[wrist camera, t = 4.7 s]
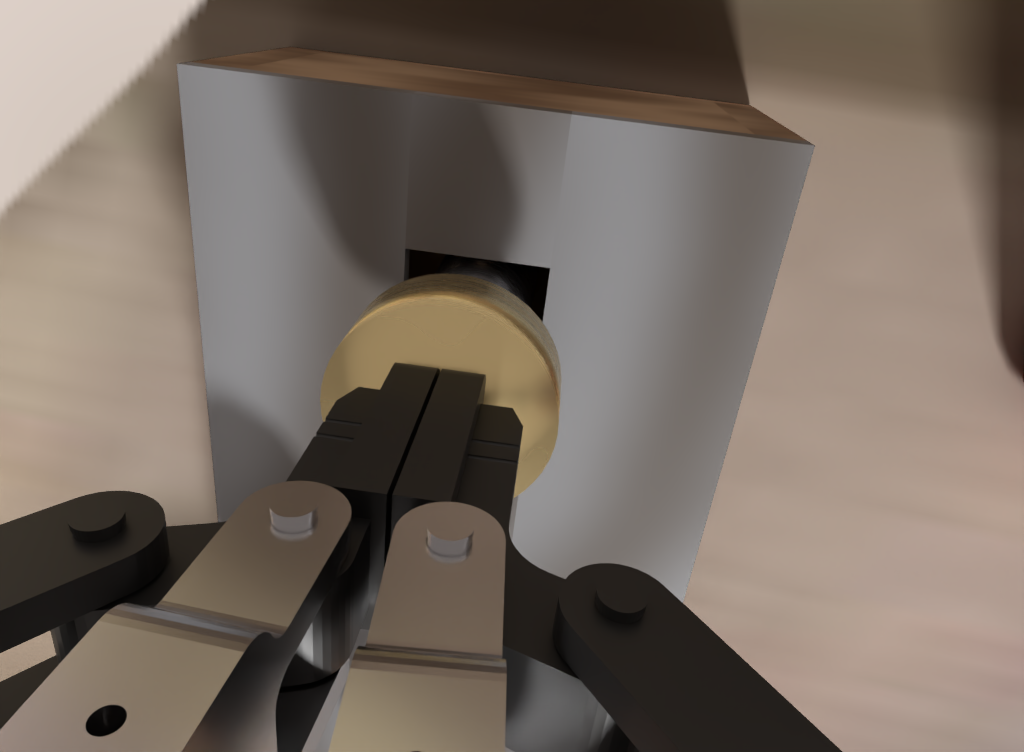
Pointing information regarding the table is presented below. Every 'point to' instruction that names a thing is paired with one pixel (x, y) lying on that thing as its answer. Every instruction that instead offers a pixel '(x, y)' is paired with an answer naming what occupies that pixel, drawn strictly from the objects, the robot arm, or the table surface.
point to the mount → (500, 237)
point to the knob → (462, 345)
